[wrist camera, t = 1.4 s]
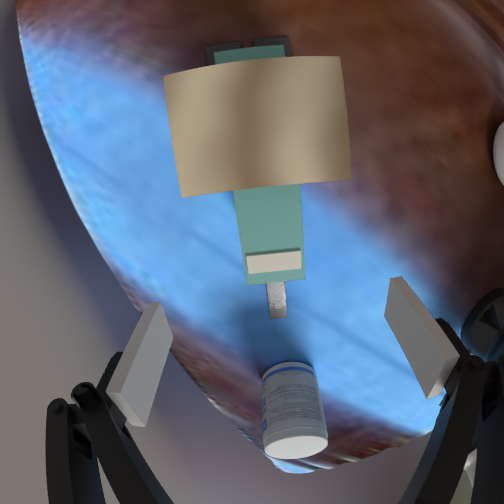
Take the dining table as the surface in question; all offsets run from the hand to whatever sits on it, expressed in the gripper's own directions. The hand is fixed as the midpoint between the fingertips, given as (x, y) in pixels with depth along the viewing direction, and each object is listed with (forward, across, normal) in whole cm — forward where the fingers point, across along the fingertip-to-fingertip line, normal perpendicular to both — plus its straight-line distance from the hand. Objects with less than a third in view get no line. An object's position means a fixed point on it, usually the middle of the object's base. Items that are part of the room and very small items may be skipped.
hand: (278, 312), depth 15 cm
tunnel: (+20, 0, -10) cm, 22 cm away
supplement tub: (+20, -1, +30) cm, 36 cm away
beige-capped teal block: (+19, 0, -6) cm, 20 cm away
